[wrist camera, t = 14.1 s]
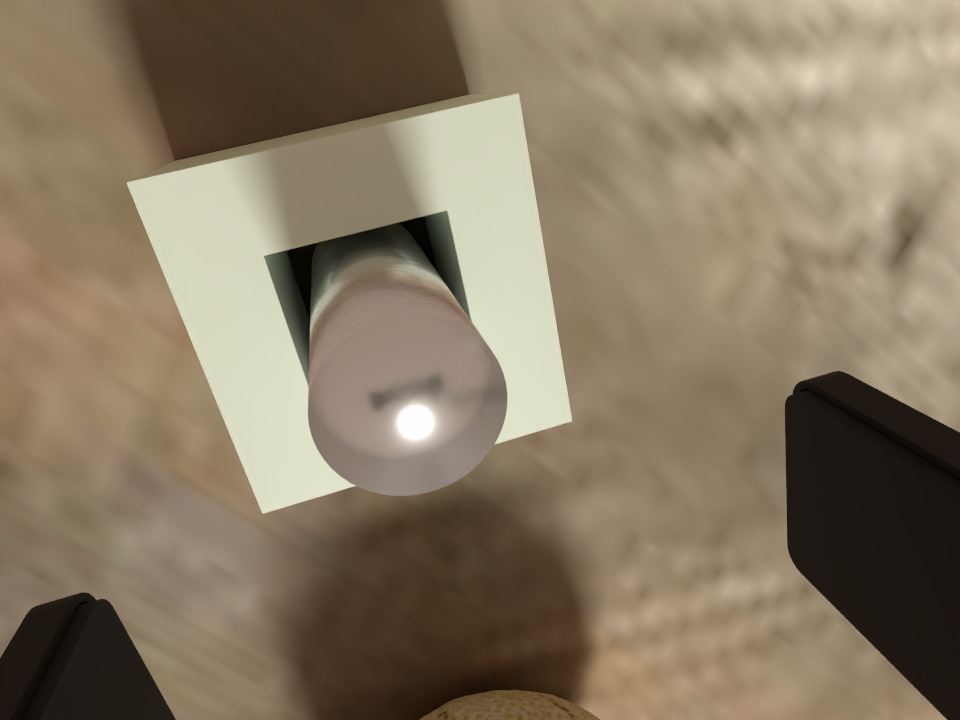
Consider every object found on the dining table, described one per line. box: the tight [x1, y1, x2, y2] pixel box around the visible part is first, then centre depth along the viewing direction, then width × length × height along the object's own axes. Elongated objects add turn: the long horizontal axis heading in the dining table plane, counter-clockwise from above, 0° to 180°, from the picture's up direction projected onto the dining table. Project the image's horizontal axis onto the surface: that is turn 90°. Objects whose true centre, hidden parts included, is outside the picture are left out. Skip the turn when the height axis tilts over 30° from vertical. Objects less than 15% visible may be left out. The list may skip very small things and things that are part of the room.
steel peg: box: [308, 223, 507, 496], centre depth 19 cm, size 4×4×12 cm
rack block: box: [126, 93, 572, 513], centre depth 21 cm, size 10×10×6 cm
